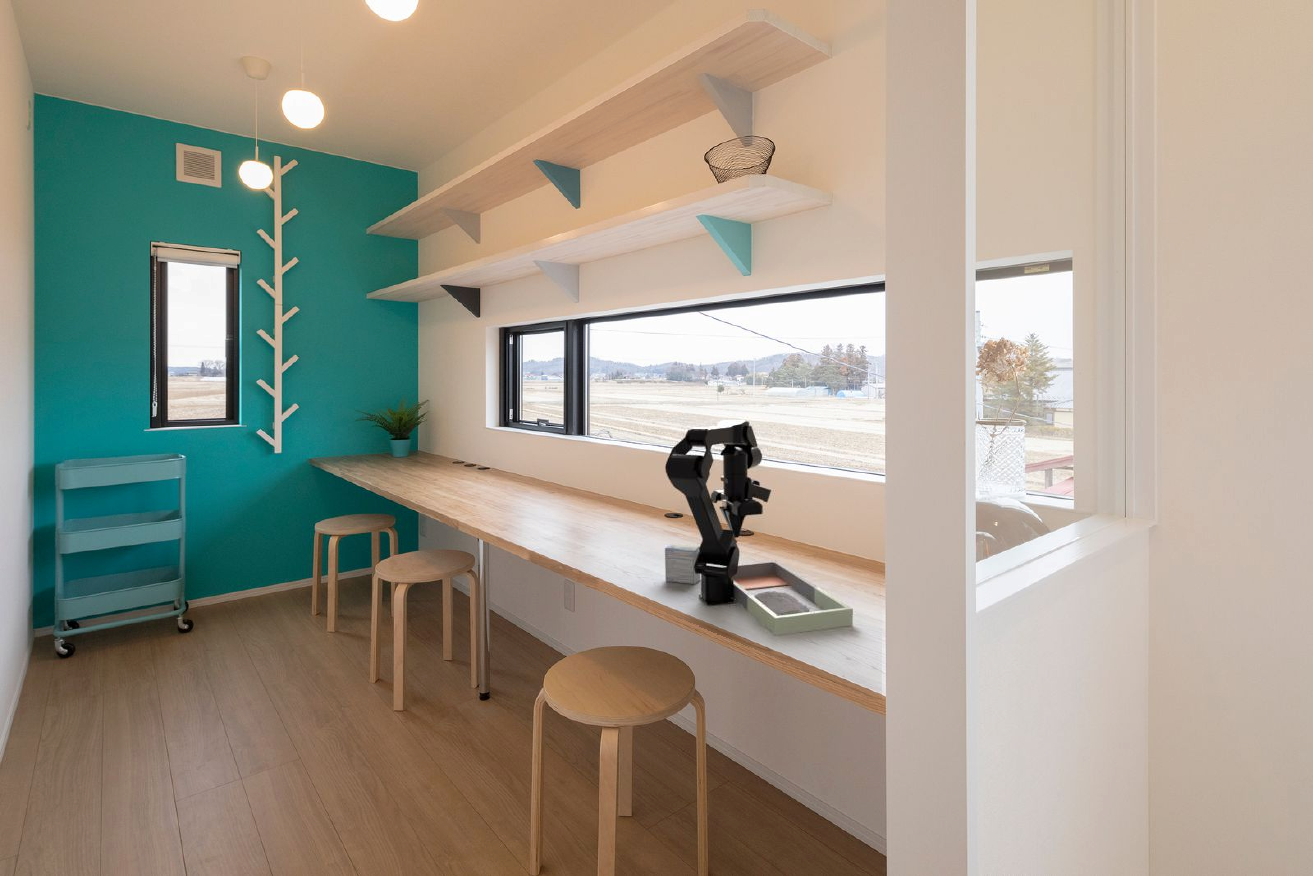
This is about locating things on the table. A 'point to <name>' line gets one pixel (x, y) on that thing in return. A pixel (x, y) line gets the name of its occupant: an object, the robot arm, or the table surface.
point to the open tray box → (782, 576)
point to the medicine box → (681, 563)
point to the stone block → (781, 603)
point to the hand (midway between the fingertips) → (735, 537)
